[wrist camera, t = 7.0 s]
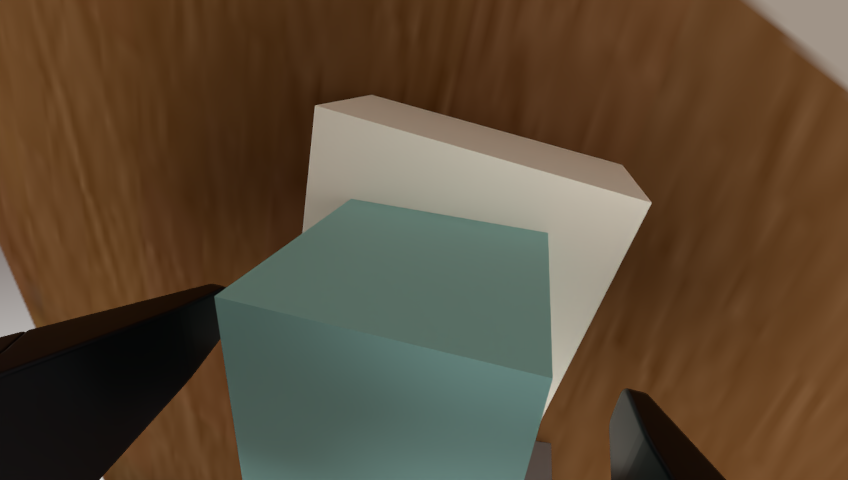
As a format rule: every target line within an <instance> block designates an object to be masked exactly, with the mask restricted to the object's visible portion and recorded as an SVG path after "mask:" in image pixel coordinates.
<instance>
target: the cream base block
mask: <svg viewBox="0 0 848 480" xmlns="http://www.w3.org/2000/svg"><path fill="white" fill-rule="evenodd" d="M350 199H356V200H361V201H367V202H373V203H379V204H384V205H390V206H396V207H402V208H407V209H413V210H419V211H425V212H430V213H436V214H442V215H448V216H453V217H459V218H465V219H471V220H477V221H482V222H488V223H494V224H500V225H505V226H511V227H517V228H523V229H528V230H534V231H540V232H546V233H548V247H549V278H550V309H551V340H552V371H553V379H552V383H551V386H550V390H549V394H548V397H547V401H546V404H545V408H544V411H543V415H544V413H545V411H546V409H547V407H548V405H549V403H550V401H551V400H552V398H553V396H554V394H555V392H556V390H557V388H558V386H559V384H560V382H561V380H562V378H563V376H564V374H565V372H566V370H567V368H568V366H569V364H570V362H571V360H572V358H573V356H574V354H575V352H576V350H577V349H578V347H579V345H580V343H581V341H582V339H583V337H584V335H585V333H586V331H587V329H588V327H589V325H590V323H591V321H592V319H593V317H594V315H595V313H596V311H597V309H598V307H599V305H600V303H601V301H602V299H603V298H604V296H605V294H606V292H607V290H608V288H609V286H610V284H611V282H612V280H613V278H614V276H615V274H616V272H617V270H618V268H619V266H620V264H621V262H622V260H623V258H624V256H625V254H626V252H627V250H628V248H629V247H630V245H631V243H632V241H633V239H634V237H635V235H636V233H637V231H638V229H639V227H640V225H641V223H642V221H643V219H644V217H645V215H646V213H647V211H648V209H649V207H650V205H651V203H652V202H651V201H650V200H649V199H648V197H647V196H646V195H645V193H644V192H643V191H642V190H641V188H640V187H639V186H638V184H637V183H636V182H635V181H634V179H633V178H632V177H631V175H630V174H629V173H628V172H627V170H626V169H625V168H624V166H623V165H621V164H618V163H614V162H611V161H607V160H603V159H600V158H596V157H593V156H589V155H585V154H582V153H578V152H575V151H571V150H568V149H564V148H560V147H557V146H553V145H550V144H546V143H543V142H539V141H535V140H532V139H528V138H525V137H521V136H517V135H514V134H510V133H507V132H503V131H500V130H496V129H492V128H489V127H485V126H482V125H478V124H475V123H471V122H467V121H464V120H460V119H457V118H453V117H450V116H446V115H442V114H439V113H435V112H432V111H428V110H424V109H421V108H417V107H414V106H410V105H407V104H403V103H399V102H396V101H392V100H389V99H385V98H382V97H378V96H374V95H368V96H362V97H357V98H352V99H346V100H341V101H336V102H330V103H325V104H320V105H315V110H314V120H313V131H312V141H311V151H310V161H309V171H308V181H307V191H306V201H305V211H304V221H303V231H302V233H304V232H305V231H307V230H308V229H309V228H311V227H312V226H314V225H315V224H316V223H318V222H319V221H321V220H322V219H323V218H325V217H326V216H328V215H329V214H330V213H332V212H333V211H335V210H336V209H337V208H339V207H340V206H342V205H343V204H344V203H346V202H347V201H349V200H350ZM543 415H542V417H543ZM541 419H542V418H541Z"/></svg>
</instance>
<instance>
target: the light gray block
mask: <svg viewBox="0 0 848 480" xmlns="http://www.w3.org/2000/svg"><path fill="white" fill-rule="evenodd" d="M524 480H552V469H551V443H545V442H538V441H535V443H534V447H533V450H532V454H531V458H530V461H529V465H528V468H527V472H526V475H525V479H524Z"/></svg>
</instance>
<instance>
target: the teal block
mask: <svg viewBox="0 0 848 480" xmlns="http://www.w3.org/2000/svg"><path fill="white" fill-rule="evenodd" d="M214 298H215V305H216V311H217V318H218V324H219V331H220V337H221V344H222V350H223V357H224V363H225V369H226V376H227V382H228V389H229V395H230V402H231V408H232V415H233V421H234V428H235V434H236V441H237V447H238V454H239V460H240V467H241V473H242V480H524V479H525V475H526V472H527V468H528V465H529V461H530V458H531V454H532V450H533V447H534V443H535V440H536V436H537V433H538V429H539V426H540V422H541V418H542V415H543V411H544V408H545V404H546V401H547V397H548V394H549V390H550V386H551V383H552V379H553V371H552V340H551V309H550V278H549V247H548V233H546V232H540V231H534V230H528V229H523V228H517V227H511V226H505V225H500V224H494V223H488V222H482V221H477V220H471V219H465V218H459V217H453V216H448V215H442V214H436V213H430V212H425V211H419V210H413V209H407V208H402V207H396V206H390V205H384V204H379V203H373V202H367V201H361V200H356V199H350V200H349V201H347V202H346V203H344V204H343V205H342V206H340V207H339V208H337V209H336V210H335V211H333V212H332V213H330V214H329V215H328V216H326V217H325V218H323V219H322V220H321V221H319V222H318V223H316V224H315V225H314V226H312V227H311V228H309V229H308V230H307V231H305V232H304V233H302V234H301V235H300V236H298V237H297V238H295V239H294V240H293V241H291V242H290V243H288V244H287V245H286V246H284V247H283V248H281V249H280V250H279V251H277V252H276V253H274V254H273V255H272V256H270V257H269V258H267V259H266V260H265V261H263V262H262V263H260V264H259V265H258V266H256V267H255V268H253V269H252V270H251V271H249V272H248V273H246V274H245V275H244V276H242V277H241V278H239V279H238V280H237V281H235V282H234V283H232V284H231V285H230V286H228V287H227V288H225V289H224V290H223V291H221V292H220V293H218V294H217V295H215V296H214Z"/></svg>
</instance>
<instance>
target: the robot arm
mask: <svg viewBox="0 0 848 480" xmlns="http://www.w3.org/2000/svg"><path fill="white" fill-rule="evenodd" d="M225 288H227V287H224V286H220V285H216V284H208V285H204V286H200V287H196V288H192V289H188V290H185V291H181V292H177V293H173V294H169V295H165V296H161V297H157V298H153V299H149V300H145V301H141V302H137V303H133V304H130V305H126V306H122V307H118V308H114V309H110V310H106V311H102V312H98V313H94V314H90V315H86V316H82V317H78V318H75V319H71V320H67V321H63V322H59V323H55V324H51V325H47V326H43V327H39V328H35V329H31V330H28V331H27V332H19V333H15V334H11V335H8V336H4V337H0V480H100V478H101V477H102V476H103V475H104V474H105V473H106V472H107V471H108V470H109V468H110V467H111V466H112V465H113V464H114V463H115V462H116V461H117V460H118V458H119V457H120V456H121V455H122V454H123V453H124V452H125V451H126V450H127V448H128V447H129V446H130V445H131V444H132V443H133V442H134V441H135V440H136V438H137V437H138V436H139V435H140V434H141V433H142V432H143V431H144V430H145V428H146V427H147V426H148V425H149V424H150V423H151V422H152V421H153V420H154V418H155V417H156V416H157V415H158V414H159V413H160V412H161V411H162V410H163V408H164V407H165V406H166V405H167V404H168V403H169V402H170V401H171V400H172V398H173V397H174V396H175V395H176V394H177V393H178V392H179V391H180V390H181V388H182V387H183V386H184V385H185V384H186V383H187V382H188V380H189V379H190V378H191V377H192V376H193V374H194V373H195V372H196V371H197V369H198V368H199V367H200V365H201V364H202V363H203V361H204V360H205V359H206V357H207V356H208V355H209V353H210V352H211V351H212V349H213V348H214V347H215V345H216V344H217V342H218V341H219V340H220V338H221V337H220V331H219V324H218V318H217V311H216V305H215V298H214V296H215V295H217V294H218V293H220V292H221V291H223V290H224V289H225ZM609 433H610V459H611V480H726V479H725V478H724V477H723V476H722V475H721V474H720V472H719V471H718V470H717V469H716V468H715V467H714V466H713V465H712V464H711V463H710V462H709V460H708V459H707V458H706V457H705V456H704V455H703V454H702V453H701V452H700V451H699V450H698V448H697V447H696V446H695V445H694V444H693V443H692V442H691V441H690V440H689V439H688V438H687V436H686V435H685V434H684V433H683V432H682V431H681V430H680V429H679V428H678V427H677V426H676V425H675V423H674V422H673V421H672V420H671V419H670V418H669V417H668V416H667V415H666V414H665V413H664V411H663V410H662V409H661V408H660V407H659V406H658V405H657V404H656V403H655V402H654V401H653V399H652V398H651V397H650V396H649V395H648V394H646V393H644V392H640V391H636V390H632V389H628V388H627V389H624V390H623V391H622V392H621V394H620V396H619V399H618V401H617V404H616V406H615V409H614V411H613V414H612V416H611V420H610V427H609Z"/></svg>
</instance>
